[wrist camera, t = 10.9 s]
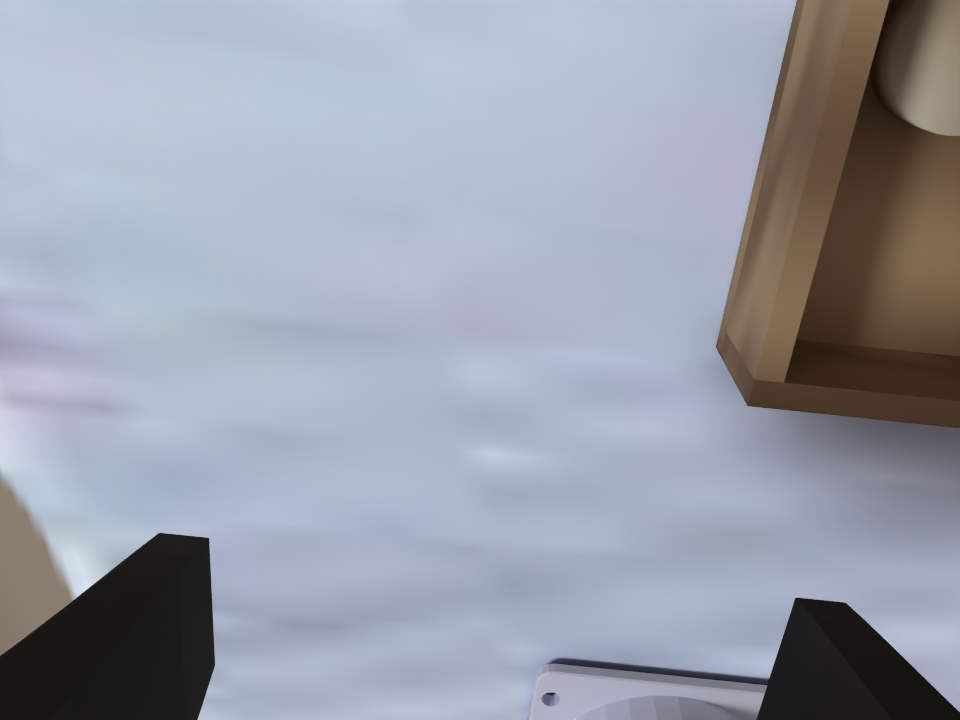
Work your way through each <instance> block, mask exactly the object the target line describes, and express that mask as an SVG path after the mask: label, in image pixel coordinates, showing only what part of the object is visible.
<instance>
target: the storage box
mask: <svg viewBox="0 0 960 720" xmlns="http://www.w3.org/2000/svg"><path fill="white" fill-rule="evenodd" d="M716 348H717V350H718V352H719V354H720V356H721V357H722V359H723V361H724V363H725V365H726V367H727V369H728V370H729V372H730V374H731V376H732V378H733V380H734V382H735V383H736V385H737V387H738V389H739V391H740V393H741V394H742V396H743V398H744V400H745V402H746V404H747V406H753V407H763V408H773V409H782V410H792V411H801V412H811V413H820V414H830V415H840V416H849V417H859V418H868V419H878V420H888V421H897V422H907V423H916V424H926V425H936V426H945V427H955V428H960V0H797V2H796V6H795V11H794V15H793V19H792V24H791V28H790V32H789V36H788V41H787V45H786V49H785V54H784V58H783V62H782V66H781V71H780V75H779V79H778V84H777V88H776V92H775V97H774V101H773V105H772V109H771V114H770V118H769V122H768V127H767V131H766V135H765V139H764V144H763V148H762V152H761V157H760V161H759V165H758V169H757V174H756V178H755V182H754V187H753V191H752V195H751V199H750V204H749V208H748V212H747V217H746V221H745V225H744V229H743V234H742V238H741V242H740V247H739V251H738V255H737V259H736V264H735V268H734V272H733V277H732V281H731V285H730V289H729V294H728V298H727V302H726V307H725V311H724V315H723V319H722V324H721V328H720V332H719V337H718V341H717V345H716Z"/></svg>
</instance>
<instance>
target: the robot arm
mask: <svg viewBox="0 0 960 720" xmlns="http://www.w3.org/2000/svg"><path fill="white" fill-rule="evenodd" d="M214 666H215V656H214V635H213V614H212V593H211V571H210V550H209V538H204V537H194V536H184V535H174V534H164V533H159V534H157V535H156V536H155V537H154V538H152V539H151V540H150V541H148V542H147V543H146V544H144V545H143V546H142V547H140V548H139V549H138V550H136V551H135V552H134V553H133V554H131V555H130V556H129V557H128V558H126V559H125V560H124V561H123V562H121V563H120V564H119V565H117V566H116V567H115V568H114V569H112V570H111V571H110V572H109V573H107V574H106V575H105V576H104V577H102V578H101V579H100V580H99V581H97V582H96V583H95V584H94V585H92V586H91V587H90V588H89V589H87V590H86V591H85V592H84V593H82V594H81V595H80V596H78V597H77V598H76V599H75V600H73V601H72V602H71V603H70V604H68V605H67V606H66V607H64V608H63V609H62V610H61V611H59V612H58V613H57V614H55V615H54V616H53V617H51V618H50V619H49V620H48V621H46V622H45V623H44V624H42V625H41V626H40V627H38V628H37V629H36V630H34V631H33V632H32V633H30V634H29V635H28V636H26V637H25V638H24V639H23V640H21V641H20V642H19V643H17V644H16V645H15V646H13V647H12V648H11V649H9V650H8V651H7V652H5V653H4V654H2V655H1V656H0V720H197V719H198V716H199V713H200V710H201V707H202V704H203V701H204V698H205V695H206V691H207V688H208V685H209V682H210V679H211V676H212V673H213V669H214ZM550 692H553V693H556V694H555V695H546V693H550ZM528 720H960V712H959V711H958V710H957V709H956V708H955V707H953V706H952V705H951V704H950V703H949V702H948V701H947V700H946V699H945V698H944V697H943V696H942V695H941V694H940V693H939V692H938V691H937V690H936V689H935V688H934V687H933V686H932V685H931V684H930V683H929V682H928V681H927V680H926V679H925V678H924V677H923V676H922V675H921V674H920V673H918V672H917V671H916V670H915V669H914V668H913V667H912V666H911V665H910V664H909V663H908V662H907V661H906V660H905V659H904V658H903V657H902V656H901V655H900V654H899V653H898V652H897V651H896V650H895V649H894V648H893V647H892V646H891V645H890V644H889V643H888V642H887V641H886V640H885V639H884V638H883V637H882V636H881V635H880V634H879V633H877V632H876V631H875V630H874V629H873V628H872V627H871V626H870V625H869V624H868V623H867V622H866V621H865V620H864V619H863V618H862V617H861V616H860V615H858V614H857V613H856V612H855V611H854V610H853V609H852V608H851V607H850V606H848V605H847V604H846V603H843V602H833V601H824V600H814V599H804V598H795V601H794V605H793V608H792V611H791V614H790V617H789V620H788V623H787V626H786V629H785V632H784V635H783V639H782V642H781V645H780V648H779V651H778V654H777V657H776V660H775V663H774V666H773V670H772V673H771V676H770V679H769V682H768V685H759V684H749V683H739V682H730V681H720V680H710V679H700V678H691V677H681V676H671V675H661V674H652V673H642V672H632V671H622V670H613V669H603V668H593V667H583V666H574V665H564V664H547V665H544V666H542V667H540V668H539V669H538V670H537V672H536V675H535V680H534V686H533V692H532V698H531V704H530V710H529V716H528Z"/></svg>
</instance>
